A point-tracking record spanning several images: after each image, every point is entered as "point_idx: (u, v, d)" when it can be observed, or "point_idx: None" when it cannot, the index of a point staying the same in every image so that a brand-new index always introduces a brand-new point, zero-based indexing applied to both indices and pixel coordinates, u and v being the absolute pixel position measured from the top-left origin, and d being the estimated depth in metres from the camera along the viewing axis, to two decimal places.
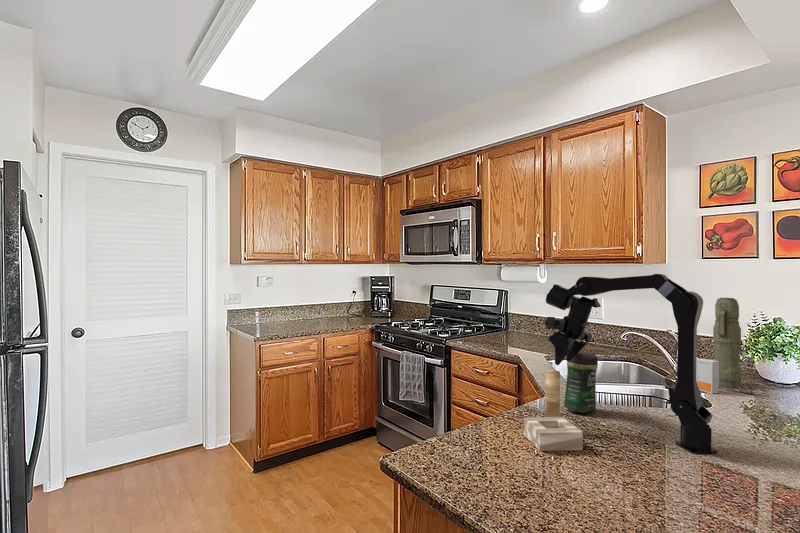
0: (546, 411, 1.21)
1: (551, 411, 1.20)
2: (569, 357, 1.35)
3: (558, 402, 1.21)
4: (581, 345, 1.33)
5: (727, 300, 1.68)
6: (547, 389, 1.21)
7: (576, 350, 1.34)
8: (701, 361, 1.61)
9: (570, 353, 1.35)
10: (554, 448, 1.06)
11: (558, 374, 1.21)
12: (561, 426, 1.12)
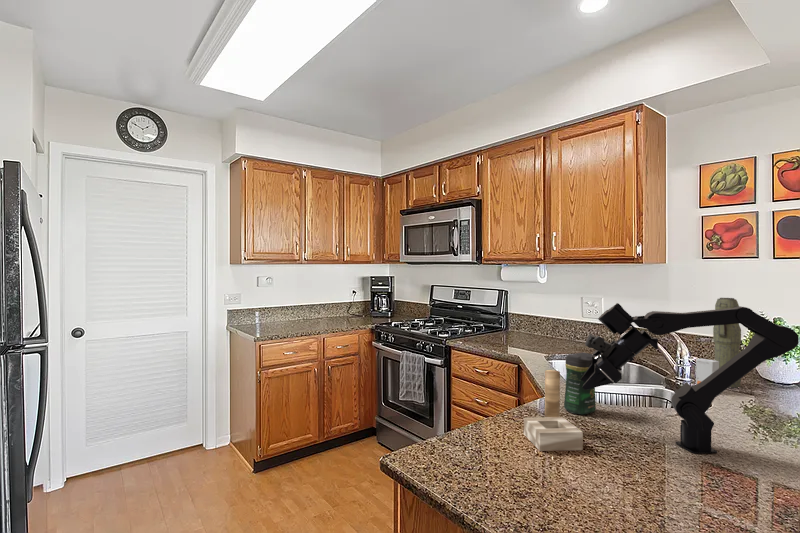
0: (546, 411, 1.21)
1: (551, 411, 1.20)
2: (586, 378, 1.22)
3: (558, 402, 1.21)
4: None
5: (727, 300, 1.68)
6: (547, 389, 1.21)
7: None
8: (701, 361, 1.61)
9: (589, 374, 1.22)
10: (554, 448, 1.06)
11: (558, 374, 1.21)
12: (561, 426, 1.12)
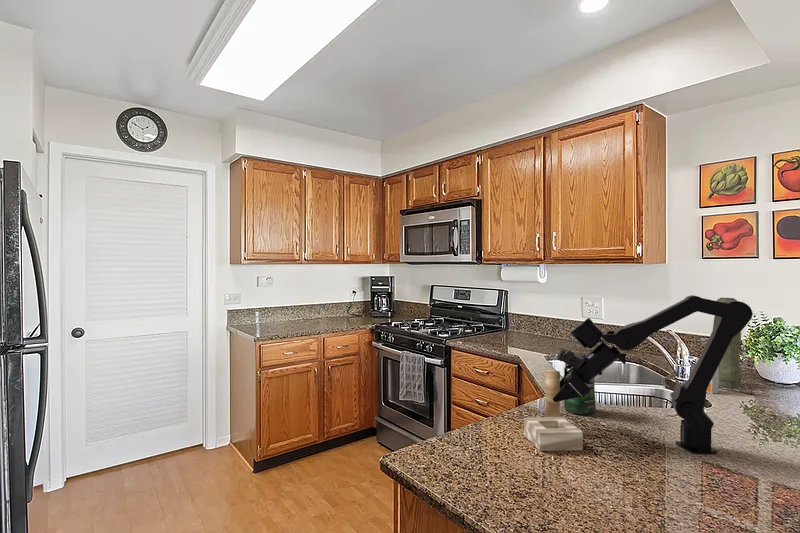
0: (546, 411, 1.21)
1: (551, 411, 1.20)
2: None
3: (558, 402, 1.21)
4: None
5: None
6: (547, 389, 1.21)
7: None
8: None
9: (561, 386, 1.25)
10: (554, 448, 1.06)
11: (558, 374, 1.21)
12: (561, 426, 1.12)
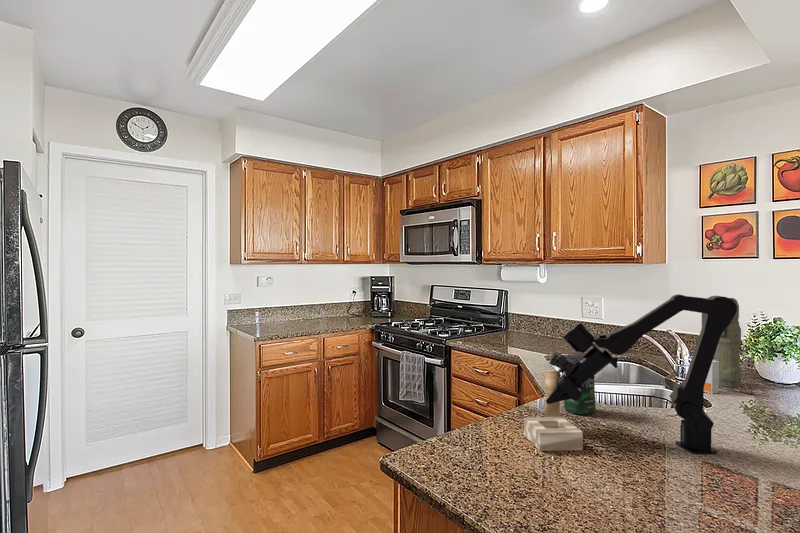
0: (546, 411, 1.21)
1: (551, 411, 1.20)
2: None
3: (558, 402, 1.21)
4: None
5: None
6: (547, 389, 1.21)
7: None
8: None
9: None
10: (554, 448, 1.06)
11: (558, 374, 1.21)
12: (561, 426, 1.12)
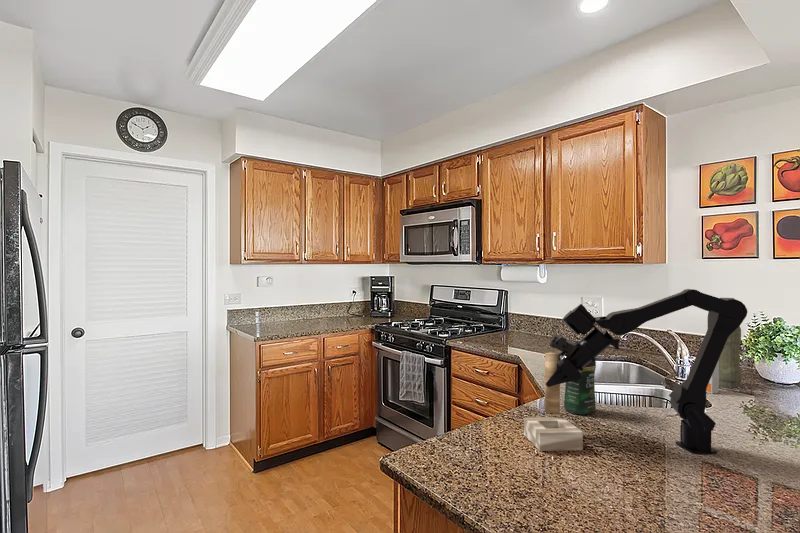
0: (546, 394, 1.19)
1: (551, 394, 1.18)
2: None
3: (558, 385, 1.18)
4: None
5: None
6: (547, 372, 1.19)
7: None
8: None
9: None
10: (554, 448, 1.06)
11: (558, 356, 1.18)
12: (561, 426, 1.12)
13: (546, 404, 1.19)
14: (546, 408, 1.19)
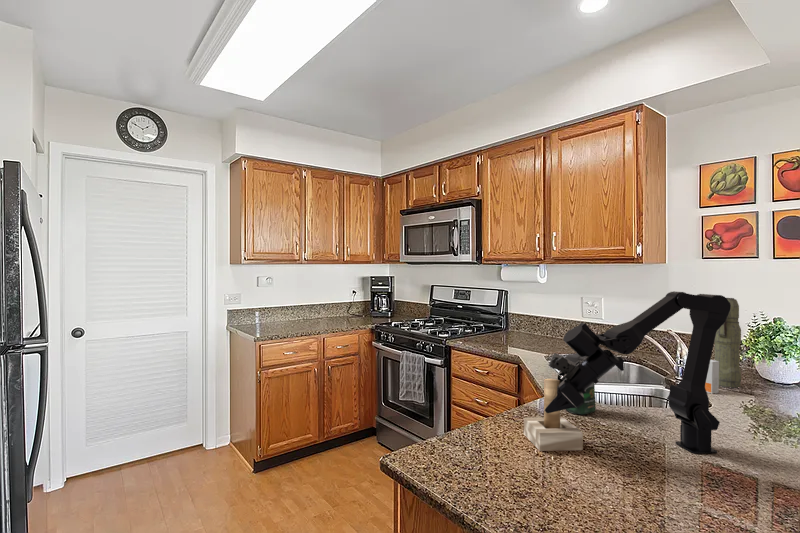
0: (545, 424, 1.11)
1: (550, 424, 1.10)
2: None
3: (558, 414, 1.10)
4: None
5: None
6: (546, 400, 1.11)
7: None
8: None
9: None
10: (554, 448, 1.06)
11: (558, 383, 1.10)
12: (561, 426, 1.12)
13: None
14: None
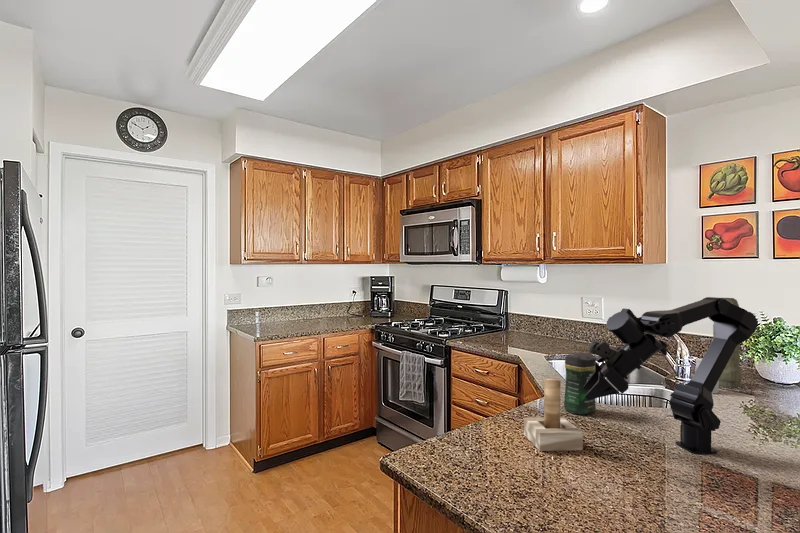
0: (545, 424, 1.11)
1: (551, 424, 1.10)
2: (588, 386, 1.13)
3: (558, 414, 1.10)
4: None
5: (727, 300, 1.68)
6: (546, 400, 1.11)
7: None
8: None
9: (592, 382, 1.13)
10: (554, 448, 1.06)
11: (558, 383, 1.10)
12: (561, 426, 1.12)
13: None
14: None
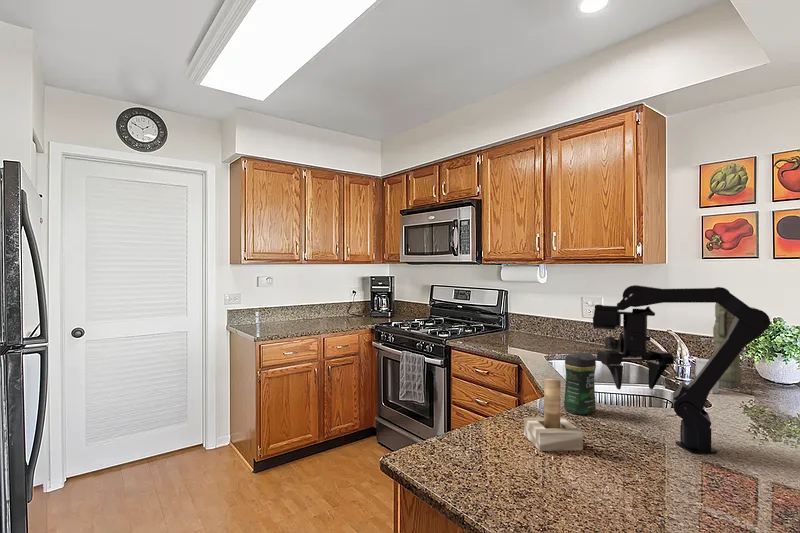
0: (545, 424, 1.11)
1: (551, 424, 1.10)
2: (650, 384, 1.16)
3: (558, 414, 1.10)
4: (658, 367, 1.14)
5: None
6: (546, 400, 1.11)
7: (655, 374, 1.15)
8: (701, 361, 1.61)
9: (650, 379, 1.16)
10: (554, 448, 1.06)
11: (558, 383, 1.10)
12: (561, 426, 1.12)
13: None
14: None
